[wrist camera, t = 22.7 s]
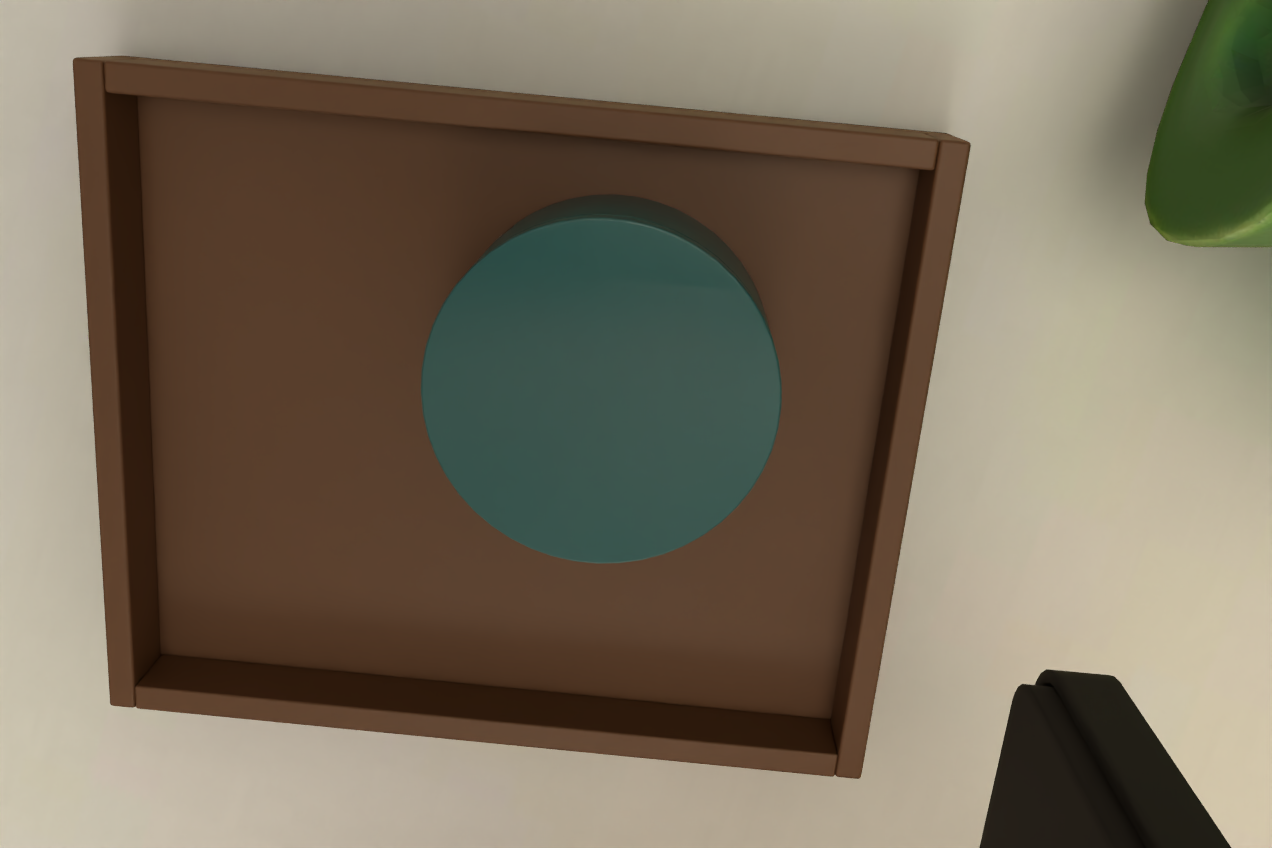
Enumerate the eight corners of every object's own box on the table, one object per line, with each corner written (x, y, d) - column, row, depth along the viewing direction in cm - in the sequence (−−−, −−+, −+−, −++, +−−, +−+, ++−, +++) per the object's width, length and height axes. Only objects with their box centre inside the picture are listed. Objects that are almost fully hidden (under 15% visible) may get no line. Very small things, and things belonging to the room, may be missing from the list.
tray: (148, 660, 29) (108, 706, 27) (120, 55, 25) (70, 57, 23) (848, 728, 29) (861, 780, 27) (948, 133, 24) (972, 141, 22)
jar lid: (520, 542, 27) (499, 609, 24) (397, 262, 25) (357, 294, 22) (811, 444, 26) (829, 500, 23) (706, 145, 24) (710, 162, 21)
